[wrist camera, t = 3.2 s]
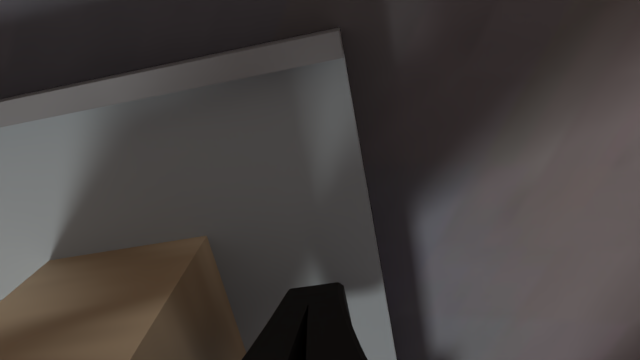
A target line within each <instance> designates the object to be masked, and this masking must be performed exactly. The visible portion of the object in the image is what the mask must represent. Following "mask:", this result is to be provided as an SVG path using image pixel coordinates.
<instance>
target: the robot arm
mask: <svg viewBox="0 0 640 360" xmlns="http://www.w3.org/2000/svg"><path fill="white" fill-rule="evenodd" d="M242 360H368V359H367V357H366V355H365V353H364V351H363V349H362V347H361V345H360V343H359V340H358V338H357V336H356V333H355V331H354V329H353V326H352V322H351V318H350V313H349V308H348V303H347V299H346V294H345V289H344V285H342V284H341V283H339V282H335V283H328V284H321V285H313V286H306V287H299V288H291V289H289V290H288V292H287V293H286V294H285V296H284V297H283V299H282V301H281V302H280V304H279V305H278V307H277V308H276V310H275V312H274V313H273V315H272V316H271V318H270V319H269V321H268V322H267V324H266V325H265V327H264V328H263V330H262V331H261V333H260V334H259V336H258V337H257V339H256V340H255V341H254V343H253V344H252V346H251V347H250V349H249V350H248V352H247V353H246V354H245V356H244V357H243V358H242Z"/></svg>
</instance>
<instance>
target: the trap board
mask: <svg viewBox="0 0 640 360" xmlns="http://www.w3.org/2000/svg"><path fill="white" fill-rule="evenodd" d="M201 236H207V238H208V241H209V244H210V247H211V250H212V253H213V256H214V259H215V261H216V264H217V267H218V270H219V273H220V276H221V279H222V282H223V285H224V288H225V291H226V294H227V297H228V300H229V303H230V306H231V309H232V312H233V315H234V318H235V321H236V324H237V327H238V330H239V333H240V336H241V338H242V341H243V344H244V347H245V350H246V353H247V352H248V350H249V349H250V347H251V346H252V344H253V343H254V341H255V340H256V339H257V337H258V336H259V334H260V333H261V331H262V330H263V328H264V327H265V325H266V324H267V322H268V321H269V319H270V318H271V316H272V315H273V313H274V312H275V310H276V308H277V307H278V305H279V304H280V302H281V301H282V299H283V297H284V296H285V294H286V293H287V292H288V290H289V289H291V288H299V287H306V286H313V285H321V284H328V283H335V282H339V283H341V284H342V285H344V289H345V294H346V299H347V303H348V308H349V313H350V318H351V322H352V326H353V329H354V331H355V333H356V336H357V338H358V340H359V343H360V345H361V347H362V349H363V351H364V353H365V355H366V357H367V359H368V360H397V356H396V350H395V345H394V339H393V333H392V327H391V321H390V316H389V310H388V304H387V298H386V293H385V287H384V281H383V275H382V269H381V264H380V258H379V252H378V246H377V240H376V235H375V229H374V223H373V217H372V211H371V206H370V200H369V194H368V188H367V182H366V177H365V171H364V165H363V159H362V153H361V148H360V142H359V136H358V130H357V124H356V119H355V113H354V107H353V101H352V95H351V90H350V84H349V78H348V72H347V66H346V61H345V55H344V49H343V43H342V37H341V32H340V27H339V28H334V29H329V30H324V31H320V32H315V33H310V34H306V35H301V36H296V37H291V38H287V39H282V40H277V41H273V42H268V43H263V44H258V45H254V46H249V47H244V48H240V49H235V50H230V51H225V52H221V53H216V54H211V55H207V56H202V57H197V58H192V59H188V60H183V61H178V62H174V63H169V64H164V65H159V66H155V67H150V68H145V69H141V70H136V71H131V72H126V73H122V74H117V75H112V76H108V77H103V78H98V79H93V80H89V81H84V82H79V83H75V84H70V85H65V86H60V87H56V88H51V89H46V90H42V91H37V92H32V93H27V94H23V95H18V96H13V97H9V98H4V99H0V301H1V300H2V299H4V298H5V297H6V296H7V295H8V294H9V293H11V292H12V291H13V290H14V289H15V288H17V287H18V286H19V285H20V284H21V283H23V282H24V281H25V280H26V279H27V278H29V277H30V276H31V275H32V274H33V273H35V272H36V271H37V270H38V269H39V268H41V267H42V266H43V265H44V264H45V263H47V262H48V261H49V260H55V259H61V258H68V257H74V256H80V255H87V254H93V253H99V252H106V251H112V250H118V249H125V248H131V247H137V246H144V245H150V244H156V243H163V242H169V241H175V240H182V239H188V238H194V237H201Z"/></svg>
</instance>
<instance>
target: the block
mask: <svg viewBox="0 0 640 360" xmlns="http://www.w3.org/2000/svg"><path fill="white" fill-rule="evenodd" d="M245 354H246V350H245V347H244V344H243V341H242V338H241V336H240V333H239V330H238V327H237V324H236V321H235V318H234V315H233V312H232V309H231V306H230V303H229V300H228V297H227V294H226V291H225V288H224V285H223V282H222V279H221V276H220V273H219V270H218V267H217V264H216V261H215V259H214V256H213V253H212V250H211V247H210V244H209V241H208V238H207V236H201V237H194V238H188V239H182V240H175V241H169V242H163V243H156V244H150V245H144V246H137V247H131V248H125V249H118V250H112V251H106V252H99V253H93V254H87V255H80V256H74V257H68V258H61V259H55V260H49V261H48V262H47V263H45V264H44V265H43V266H42V267H41V268H39V269H38V270H37V271H36V272H35V273H33V274H32V275H31V276H30V277H29V278H27V279H26V280H25V281H24V282H23V283H21V284H20V285H19V286H18V287H17V288H15V289H14V290H13V291H12V292H11V293H9V294H8V295H7V296H6V297H5V298H4V299H2V300H1V301H0V360H242V358H243V357H244V356H245Z"/></svg>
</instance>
